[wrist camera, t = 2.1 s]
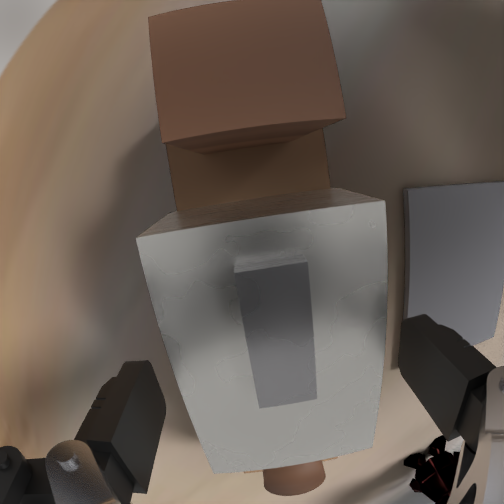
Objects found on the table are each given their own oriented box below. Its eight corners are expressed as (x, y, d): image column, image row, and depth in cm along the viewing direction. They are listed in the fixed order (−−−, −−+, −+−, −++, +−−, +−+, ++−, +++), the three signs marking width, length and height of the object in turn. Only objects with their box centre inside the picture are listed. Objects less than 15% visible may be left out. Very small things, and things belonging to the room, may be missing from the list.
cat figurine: (451, 420, 22) (509, 507, 10) (458, 446, 23) (504, 519, 12) (387, 461, 23) (429, 557, 11) (404, 481, 24) (439, 560, 13)
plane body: (181, 102, 14) (84, 6, 4) (289, 86, 14) (371, -29, 4) (242, 417, 20) (247, 558, 9) (320, 405, 20) (362, 539, 9)
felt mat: (402, 188, 16) (408, 189, 15) (503, 181, 16) (509, 181, 15) (398, 365, 19) (401, 370, 19) (489, 333, 19) (493, 336, 19)
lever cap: (170, 212, 11) (127, 244, 7) (337, 187, 11) (396, 204, 7) (217, 406, 13) (213, 485, 9) (345, 386, 13) (376, 458, 9)
